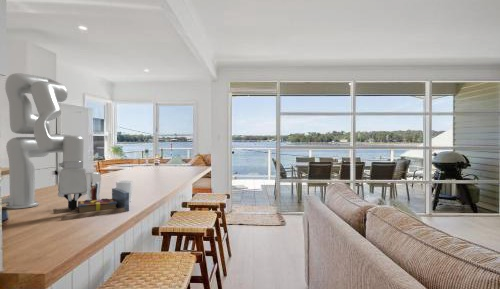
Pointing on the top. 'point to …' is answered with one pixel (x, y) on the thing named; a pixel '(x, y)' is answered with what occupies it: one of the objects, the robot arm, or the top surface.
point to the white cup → (125, 187)
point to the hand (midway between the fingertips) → (72, 209)
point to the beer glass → (93, 185)
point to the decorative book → (96, 205)
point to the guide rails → (122, 203)
